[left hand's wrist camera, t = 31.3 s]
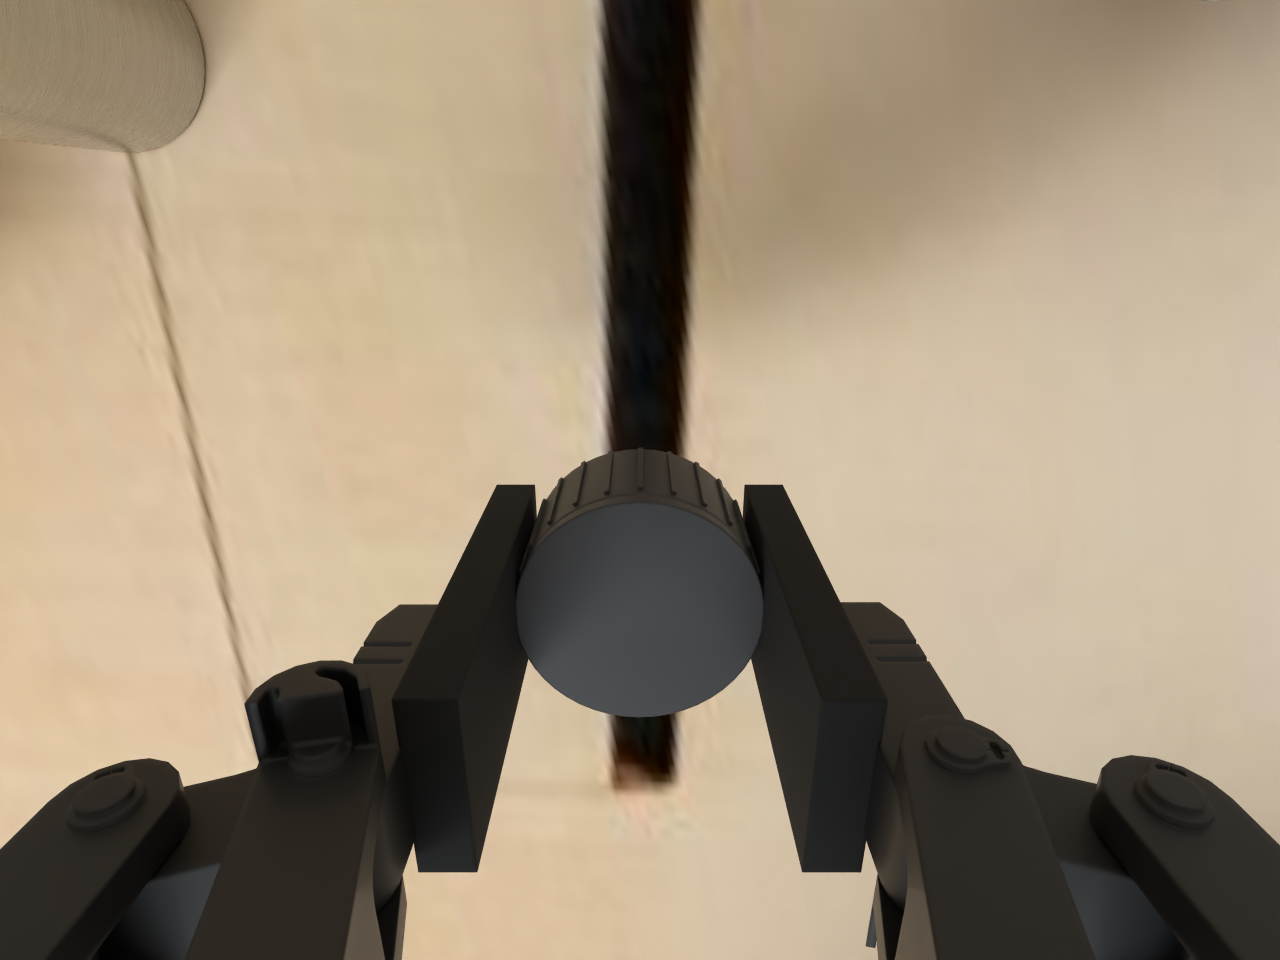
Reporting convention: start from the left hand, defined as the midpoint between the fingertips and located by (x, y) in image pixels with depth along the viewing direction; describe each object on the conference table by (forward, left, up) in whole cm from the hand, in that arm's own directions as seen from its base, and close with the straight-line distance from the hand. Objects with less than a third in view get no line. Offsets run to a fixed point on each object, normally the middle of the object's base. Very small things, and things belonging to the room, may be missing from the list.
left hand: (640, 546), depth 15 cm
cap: (0, 0, 0) cm, 0 cm away
